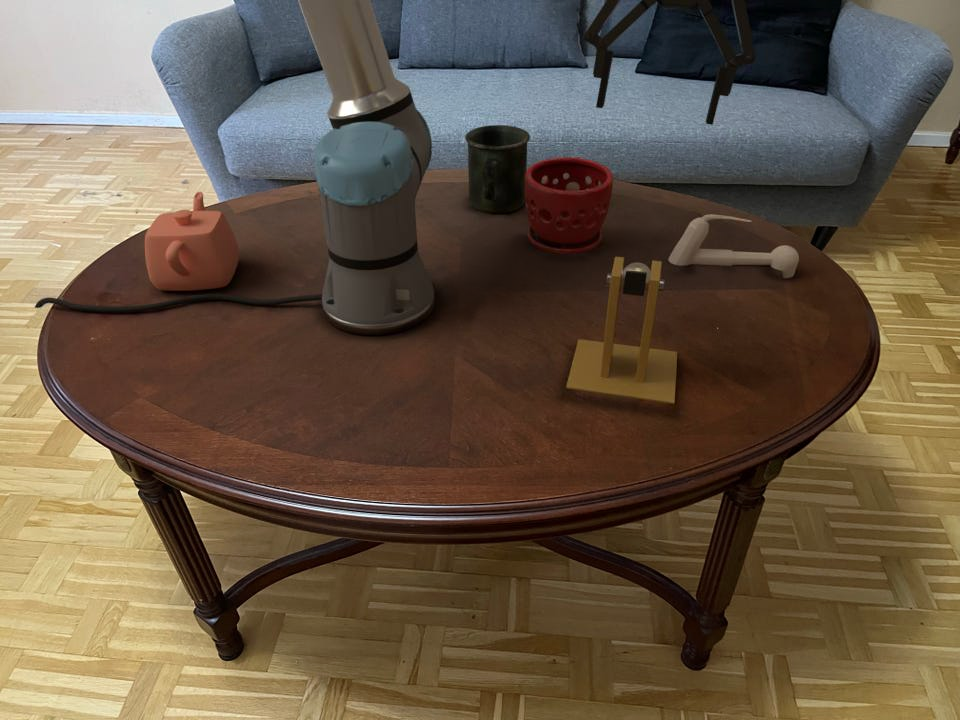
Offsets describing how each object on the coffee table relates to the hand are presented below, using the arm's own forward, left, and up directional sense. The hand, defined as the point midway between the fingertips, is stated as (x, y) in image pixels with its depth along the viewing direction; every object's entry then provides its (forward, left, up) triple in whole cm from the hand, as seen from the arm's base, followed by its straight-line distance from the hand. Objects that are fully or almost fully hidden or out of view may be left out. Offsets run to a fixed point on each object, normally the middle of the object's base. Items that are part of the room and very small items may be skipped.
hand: (653, 115), depth 90 cm
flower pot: (-11, +9, -24) cm, 28 cm away
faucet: (+14, +7, -24) cm, 28 cm away
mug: (-25, +21, -24) cm, 41 cm away
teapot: (-62, -13, -24) cm, 68 cm away
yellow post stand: (+1, -24, -24) cm, 34 cm away
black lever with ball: (+1, -20, -15) cm, 25 cm away
